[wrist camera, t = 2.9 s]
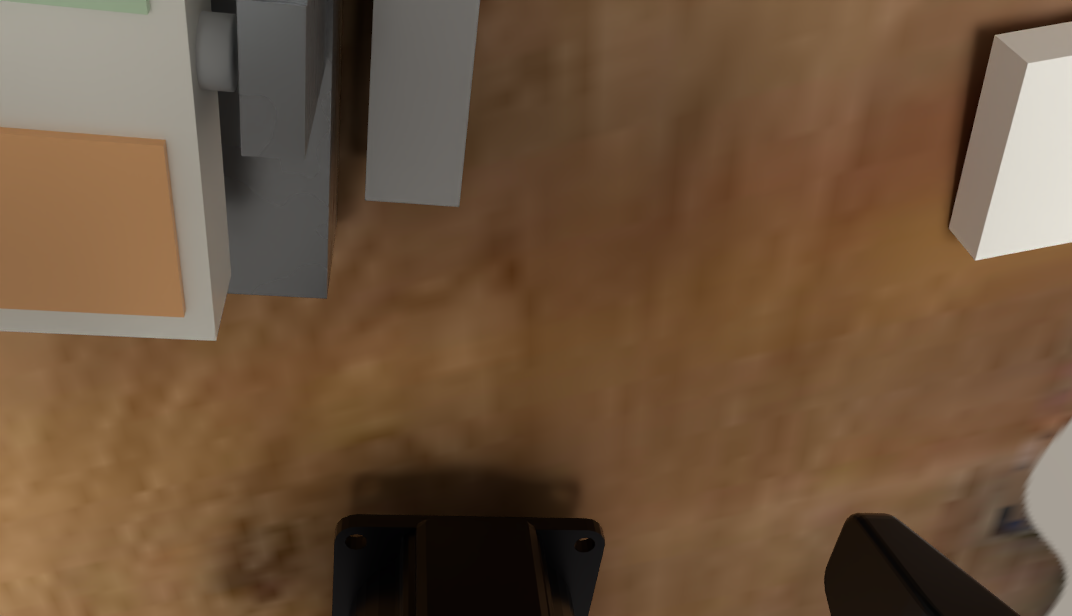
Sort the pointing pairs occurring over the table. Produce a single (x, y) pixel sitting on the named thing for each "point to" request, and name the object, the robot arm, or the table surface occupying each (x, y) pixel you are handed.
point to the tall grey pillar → (419, 99)
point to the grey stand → (282, 145)
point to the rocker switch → (114, 167)
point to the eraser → (1020, 148)
